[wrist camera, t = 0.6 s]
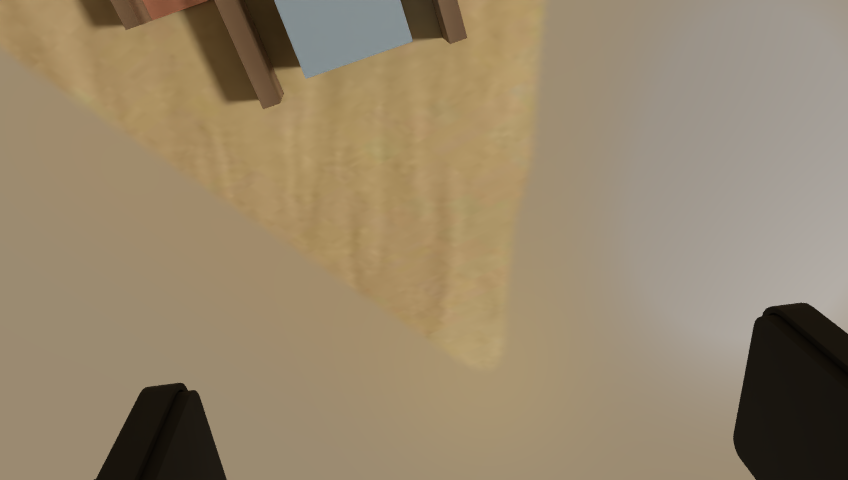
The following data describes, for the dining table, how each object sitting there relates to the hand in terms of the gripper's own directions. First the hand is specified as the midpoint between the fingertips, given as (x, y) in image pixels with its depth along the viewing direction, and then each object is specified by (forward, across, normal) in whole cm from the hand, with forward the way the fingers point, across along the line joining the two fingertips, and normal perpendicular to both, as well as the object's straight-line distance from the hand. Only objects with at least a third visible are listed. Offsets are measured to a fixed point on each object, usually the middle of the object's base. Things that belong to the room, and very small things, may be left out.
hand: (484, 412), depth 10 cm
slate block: (+29, +3, -5) cm, 29 cm away
